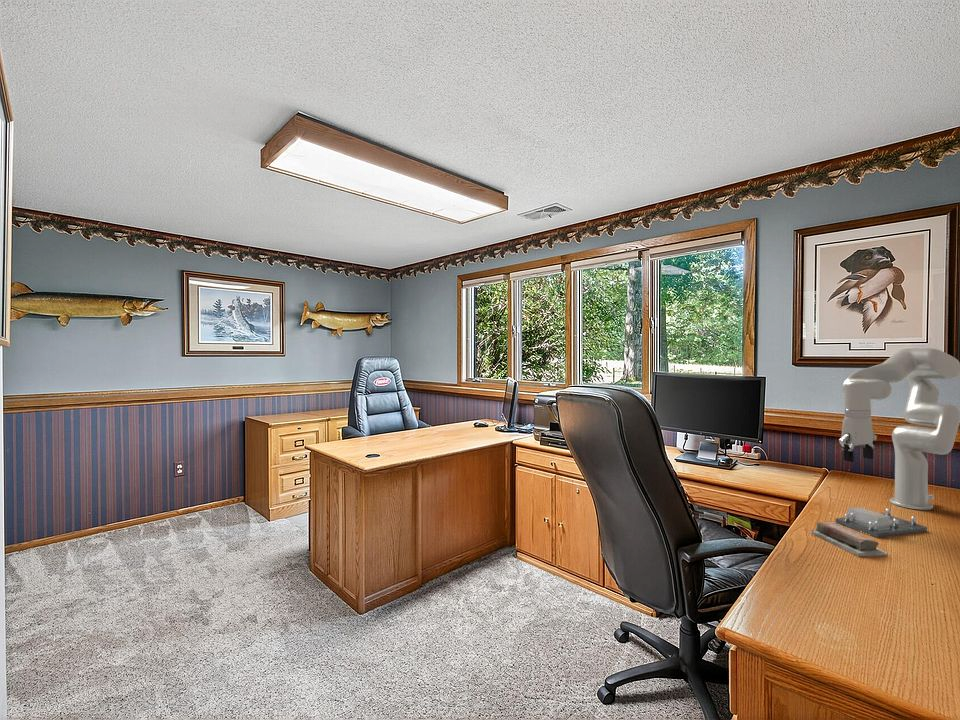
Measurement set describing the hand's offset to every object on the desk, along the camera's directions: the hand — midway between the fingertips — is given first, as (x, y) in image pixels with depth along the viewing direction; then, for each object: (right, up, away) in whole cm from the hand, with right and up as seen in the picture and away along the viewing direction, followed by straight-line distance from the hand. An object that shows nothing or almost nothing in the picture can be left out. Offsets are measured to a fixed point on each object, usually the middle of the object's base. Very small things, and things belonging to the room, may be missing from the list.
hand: (858, 459), depth 169 cm
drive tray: (0, -21, -10) cm, 24 cm away
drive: (-6, -20, -11) cm, 23 cm away
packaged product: (-23, -23, -23) cm, 40 cm away
